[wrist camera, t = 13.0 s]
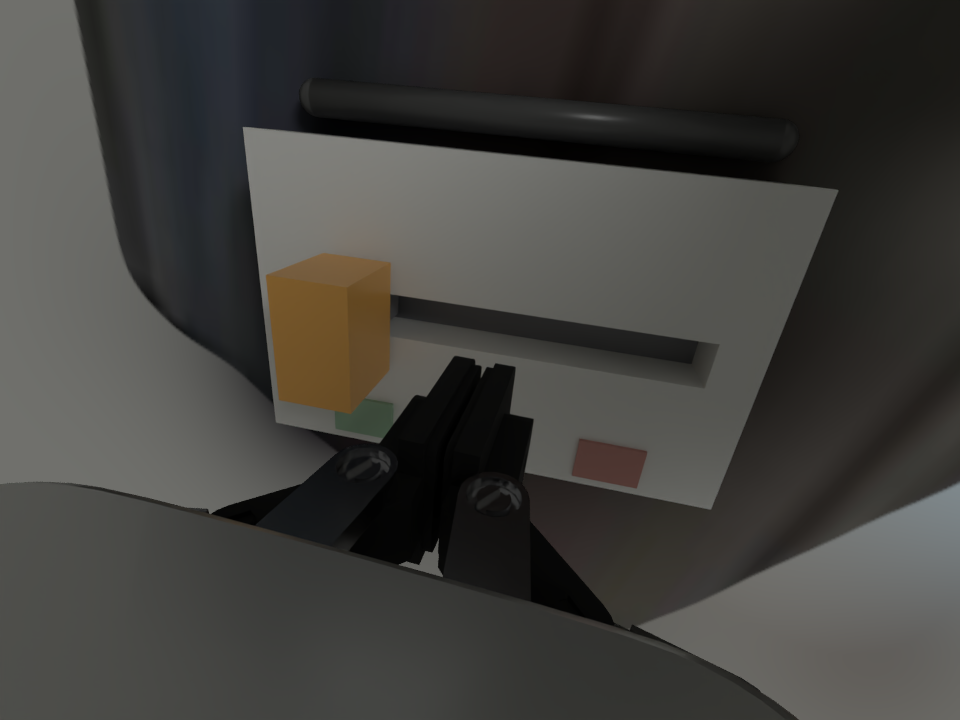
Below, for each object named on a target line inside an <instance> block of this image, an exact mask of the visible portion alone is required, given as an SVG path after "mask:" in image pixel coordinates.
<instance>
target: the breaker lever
mask: <svg viewBox="0 0 960 720" xmlns="http://www.w3.org/2000/svg"><path fill="white" fill-rule="evenodd" d="M266 282H267V292H268V301H269V311H270V320H271V330H272V339H273V348H274V358H275V367H276V377H277V386H278V396H279V400H281V401H286V402H291V403H296V404H302V405H307V406H312V407H317V408H322V409H328V410H333V411H338V412H343V413H348V414H351V413H352V412H353V411H354V410H355V409H356V408H357V407H358V405H359V404H360V403H361V402H362V401H363V400H364V399H365V397H366V396H367V395H368V394H369V393H370V392H371V391H372V389H373V388H374V387H375V386H376V385H377V384H378V383H379V382H380V380H381V379H382V378H383V377H384V376H385V375H386V374H387V372H388V371H389V370H390V320H391V319H392V318H394V317H395V316H396V315H397V314H398V302H399V295H393V294H390V283H391V262H384V261H377V260H370V259H363V258H356V257H349V256H342V255H335V254H328V253H322V254H319V255H317V256H314V257H311V258H309V259H306V260H303V261H301V262H298V263H296V264H293V265H290V266H288V267H285V268H283V269H280V270H277V271H275V272H272V273H270V274H267V275H266Z"/></svg>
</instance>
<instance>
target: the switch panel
mask: <svg viewBox="0 0 960 720" xmlns="http://www.w3.org/2000/svg"><path fill="white" fill-rule="evenodd" d="M299 99H300V102H301V104H302V106H303V108H304V109H305V110H306V111H307V112H308V113H309V114H310V115H312V116H315V117H320V118H330V119H340V120H350V121H360V122H370V123H380V124H390V125H400V126H410V127H420V128H430V129H440V130H450V131H460V132H470V133H480V134H490V135H500V136H510V137H520V138H530V139H540V140H550V141H560V142H570V143H580V144H590V145H600V146H610V147H620V148H630V149H640V150H650V151H660V152H670V153H680V154H690V155H700V156H710V157H720V158H730V159H740V160H750V161H760V162H777V161H780V160H782V159H784V158H786V157H787V156H789V155H790V154H791V153H792V152H793V150H794V149H795V148H796V146H797V144H798V141H799V131H798V128H797V126H796V125H795V124H794V123H793V122H792V121H790V120H787V119H780V118H768V117H757V116H746V115H734V114H723V113H711V112H700V111H688V110H677V109H665V108H654V107H643V106H631V105H620V104H608V103H597V102H585V101H574V100H562V99H551V98H540V97H528V96H517V95H505V94H494V93H482V92H471V91H459V90H448V89H437V88H425V87H414V86H402V85H391V84H379V83H368V82H356V81H345V80H333V79H322V78H310V79H308V80H306V81H305V82H304V83H303V84H302V85H301V87H300V90H299ZM243 132H244V141H245V150H246V159H247V168H248V177H249V186H250V195H251V204H252V213H253V222H254V231H255V240H256V249H257V257H258V266H259V275H260V284H261V293H262V302H263V311H264V320H265V329H266V338H267V347H268V356H269V365H270V374H271V383H272V392H273V401H274V410H275V418H276V422H277V423H281V424H286V425H291V426H296V427H301V428H306V429H311V430H316V431H321V432H326V433H331V434H336V435H341V436H346V437H351V438H356V439H361V440H366V441H371V442H376V443H380V442H381V440H382V439H383V438H384V436H385V435H386V434H387V432H388V431H389V430H390V428H391V427H392V425H393V424H394V423H395V421H396V420H397V419H398V417H399V416H400V414H401V413H402V412H403V410H404V409H405V408H406V406H407V405H408V403H409V402H410V401H411V399H412V398H413V397H414V396H415V395H420V396H425V397H427V395H428V394H429V392H430V391H431V389H432V388H433V386H434V385H435V383H436V382H437V381H438V379H439V378H440V376H441V375H442V373H443V372H444V370H445V369H446V367H447V366H448V364H449V363H450V361H451V360H452V358H453V357H454V356H460V357H466V358H471V359H475V365H480V366H481V367H482V372H481V377H482V375H483V373H484V371H485V369H486V367H491V368H493V367H494V365H495V363H498V364H503V365H509V366H514V367H516V372H515V380H514V387H513V394H512V401H511V408H510V414H513V415H518V416H523V417H527V418H532V419H534V423H533V429H532V435H531V441H530V447H529V452H528V458H527V463H526V468H525V472H526V473H531V474H536V475H541V476H546V477H551V478H556V479H561V480H566V481H570V482H575V483H580V484H585V485H590V486H595V487H600V488H605V489H610V490H615V491H620V492H625V493H630V494H635V495H640V496H645V497H650V498H655V499H660V500H665V501H670V502H675V503H680V504H685V505H690V506H695V507H700V508H705V509H710V510H711V508H712V506H713V503H714V501H715V498H716V496H717V493H718V491H719V488H720V486H721V483H722V481H723V478H724V476H725V473H726V471H727V468H728V466H729V463H730V461H731V458H732V456H733V453H734V451H735V448H736V446H737V443H738V441H739V438H740V436H741V433H742V431H743V428H744V426H745V423H746V421H747V418H748V416H749V413H750V411H751V408H752V406H753V403H754V401H755V398H756V396H757V393H758V391H759V388H760V386H761V383H762V381H763V378H764V376H765V373H766V371H767V368H768V366H769V363H770V361H771V358H772V356H773V353H774V351H775V348H776V346H777V343H778V341H779V338H780V336H781V333H782V331H783V328H784V326H785V323H786V321H787V318H788V316H789V313H790V311H791V308H792V306H793V303H794V301H795V298H796V296H797V293H798V291H799V288H800V286H801V283H802V281H803V278H804V276H805V273H806V271H807V268H808V266H809V263H810V261H811V258H812V256H813V253H814V251H815V248H816V246H817V243H818V240H819V238H820V235H821V233H822V230H823V228H824V225H825V223H826V220H827V218H828V215H829V213H830V210H831V208H832V205H833V203H834V200H835V198H836V195H837V193H838V190H835V189H828V188H821V187H813V186H806V185H798V184H791V183H783V182H775V181H765V180H756V179H746V178H737V177H727V176H718V175H708V174H699V173H689V172H680V171H670V170H661V169H651V168H642V167H632V166H623V165H613V164H604V163H594V162H585V161H575V160H566V159H556V158H546V157H537V156H527V155H518V154H508V153H499V152H489V151H480V150H470V149H461V148H451V147H442V146H432V145H423V144H413V143H404V142H394V141H385V140H375V139H366V138H356V137H347V136H337V135H328V134H318V133H309V132H297V131H284V130H272V129H260V128H248V127H243ZM322 253H328V254H335V255H342V256H349V257H356V258H363V259H370V260H377V261H384V262H391V283H390V294H393V295H399V302H398V314H397V315H396V316H395V317H394V318H392V319H391V320H390V370H389V371H388V372H387V374H386V375H385V376H384V377H383V378H382V379H381V380H380V382H379V383H378V384H377V385H376V386H375V387H374V388H373V389H372V391H371V392H370V393H369V394H368V395H367V396H366V397H365V399H364V400H363V401H362V402H361V403H360V404H359V405H358V407H357V408H356V409H355V410H354V411H353V412H352V413H351V414H348V413H343V412H338V411H333V410H328V409H322V408H317V407H312V406H307V405H302V404H296V403H291V402H286V401H281V400H279V396H278V386H277V377H276V367H275V358H274V348H273V339H272V330H271V320H270V311H269V301H268V292H267V282H266V275H267V274H270V273H272V272H275V271H277V270H280V269H283V268H285V267H288V266H290V265H293V264H296V263H298V262H301V261H303V260H306V259H309V258H311V257H314V256H317V255H319V254H322Z"/></svg>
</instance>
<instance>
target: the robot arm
mask: <svg viewBox="0 0 960 720" xmlns="http://www.w3.org/2000/svg"><path fill="white" fill-rule="evenodd" d="M481 372H482V367H481V366H480V365H475V359H471V358H466V357H460V356H454V357H453V358H452V360H451V361H450V363H449V364H448V366H447V367H446V369H445V370H444V372H443V373H442V375H441V376H440V378H439V379H438V381H437V382H436V383H435V385H434V386H433V388H432V389H431V391H430V392H429V394H428V395H427V397H425V396H420V395H415V396H414V397H413V398H412V399H411V401H410V402H409V403H408V405H407V406H406V408H405V409H404V410H403V412H402V413H401V414H400V416H399V417H398V419H397V420H396V421H395V423H394V424H393V425H392V427H391V428H390V430H389V431H388V432H387V434H386V435H385V436H384V438H383V439H382V440H381V442H380V443H379V445H375V444H359V445H353V446H350V447H348V448H345V449H343V450H341V451H340V452H338V453H337V454H335V455H334V456H333V457H332V458H331V459H330V460H329V461H327V462H326V463H325V464H324V465H323V466H322V467H321V468H319V470H317V471H316V472H315V473H314V474H313V475H312V476H310V477H309V478H308V479H307V480H306V481H305V482H304V483H302V484H300V485H296V486H293V487H290V488H287V489H283V490H279V491H276V492H273V493H269V494H266V495H263V496H259V497H256V498H252V499H249V500H245V501H242V502H239V503H235V504H232V505H229V506H226V507H224V508H221V509H218V510H217V511H215V512H213V513H212V514H209V511H208V509H200V508H185V507H181V506H178V505H174V504H170V503H166V502H162V501H158V500H154V499H150V498H146V497H141V496H137V495H132V494H128V493H123V492H119V491H114V490H109V489H105V488H101V487H94V486H88V485H81V484H73V483H56V482H24V483H7V484H0V720H798V719H797V718H796V717H795V716H794V715H792V714H791V713H790V712H788V711H787V710H786V709H784V708H783V707H782V706H780V705H779V704H777V702H775V701H774V700H772V699H771V698H769V697H767V696H766V695H764V694H763V693H761V692H760V691H759V690H758V689H757V688H756V687H754V686H753V685H751V684H750V683H748V682H747V681H745V680H744V679H742V678H740V677H738V676H736V675H734V674H732V673H730V672H728V671H726V670H724V669H722V668H720V667H718V666H716V665H714V664H712V663H710V662H708V661H706V660H704V659H701V658H699V657H698V656H695V655H693V654H691V653H689V652H687V651H685V650H683V649H681V648H679V647H677V646H675V645H673V644H671V643H669V642H667V641H665V640H663V639H661V638H659V637H657V636H655V635H653V634H651V633H648V632H646V631H644V630H642V629H640V628H638V627H636V626H634V625H632V626H631V628H630V630H628V629H626V628H624V627H622V626H620V625H618V624H616V623H614V622H613V620H612V617H611V615H610V614H609V612H608V611H607V609H606V608H605V606H604V605H603V604H602V603H601V602H600V600H599V599H598V598H597V597H596V596H595V595H594V594H593V592H592V591H591V590H590V589H589V588H588V587H587V586H586V584H585V583H584V582H583V581H582V580H581V579H580V578H579V576H578V575H577V574H576V573H575V572H574V571H573V570H572V568H571V567H570V566H569V565H568V564H567V563H566V562H565V560H564V559H563V558H562V557H561V556H560V555H559V554H558V552H557V551H556V550H555V549H554V548H553V547H552V546H551V544H550V543H549V542H548V541H547V540H546V539H545V538H544V536H543V535H542V534H541V533H540V532H539V531H538V530H537V528H536V527H535V526H534V525H533V524H532V523H531V522H530V500H529V495H528V492H527V490H526V489H525V487H524V486H523V485H522V481H523V477H524V472H525V468H526V463H527V458H528V452H529V447H530V441H531V435H532V429H533V423H534V419H532V418H527V417H523V416H518V415H513V414H510V408H511V401H512V394H513V387H514V380H515V372H516V367H514V366H509V365H503V364H498V363H495V365H494V367H493V368H491V367H486V369H485V371H484V373H483V375H482V377H481ZM438 538H439V547H438V554H439V560H438V568H439V569H440V571H441V573H442V575H443V577H440V576H436V575H433V574H429V573H426V572H422V571H418V570H414V569H411V568H408V567H403V566H400V565H399V564H401V563H404V562H406V561H407V562H411V563H414V564H418V565H419V564H420V562H421V560H422V557H423V555H424V553H425V551H428V552H433V550H434V548H435V546H436V543H437V541H438Z"/></svg>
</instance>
